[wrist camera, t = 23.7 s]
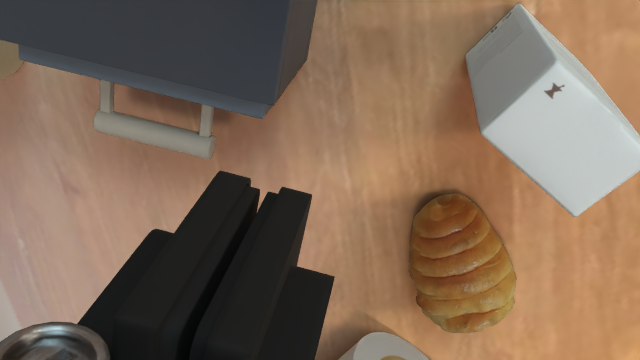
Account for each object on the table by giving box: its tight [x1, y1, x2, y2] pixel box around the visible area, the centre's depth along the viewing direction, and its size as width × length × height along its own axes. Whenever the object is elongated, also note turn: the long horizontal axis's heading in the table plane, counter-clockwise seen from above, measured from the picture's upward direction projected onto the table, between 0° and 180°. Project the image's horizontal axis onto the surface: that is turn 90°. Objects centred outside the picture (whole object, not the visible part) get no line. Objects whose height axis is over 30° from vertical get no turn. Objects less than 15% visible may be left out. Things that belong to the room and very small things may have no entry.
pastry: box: [409, 193, 516, 333], centre depth 39 cm, size 9×7×4 cm
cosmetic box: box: [465, 3, 640, 217], centre depth 29 cm, size 6×4×12 cm
